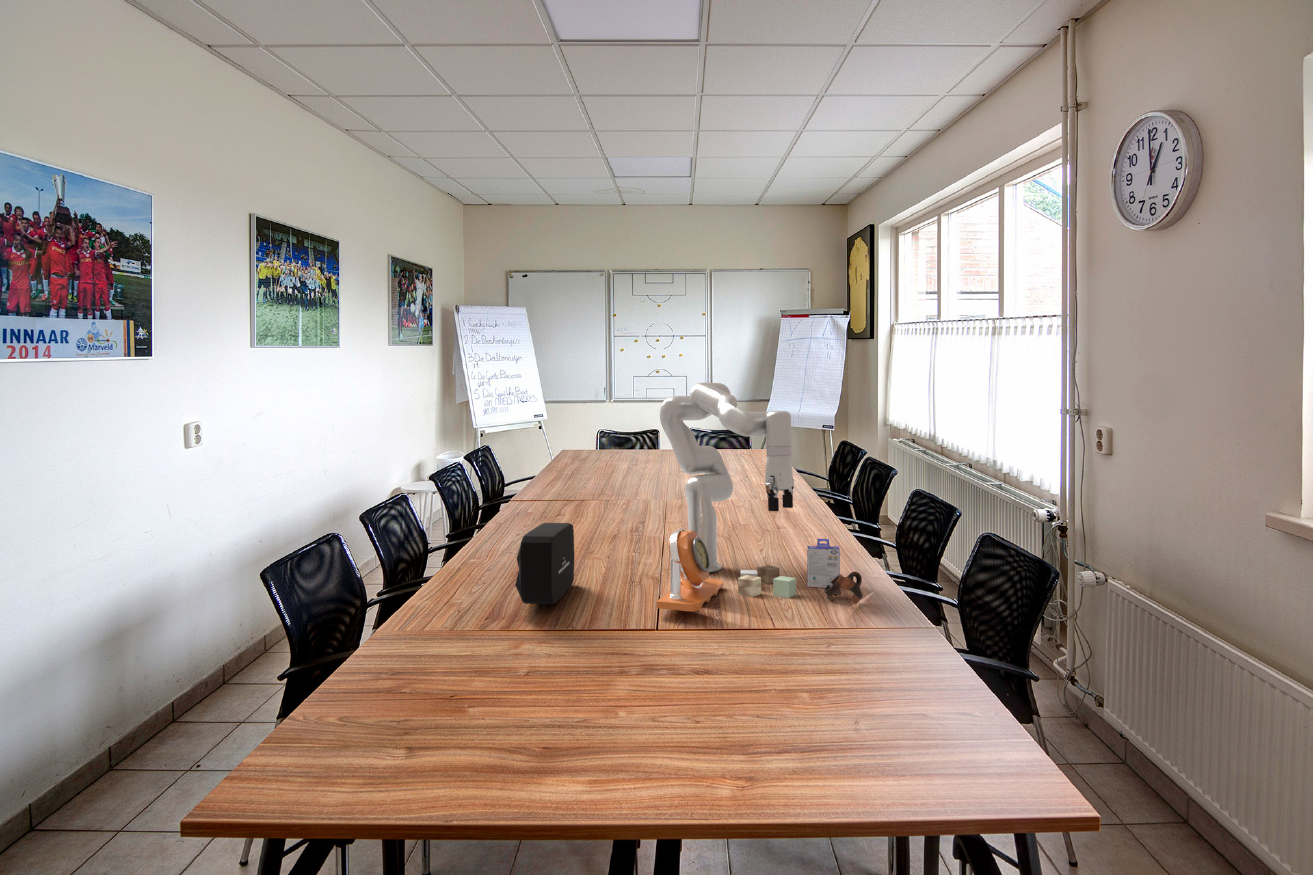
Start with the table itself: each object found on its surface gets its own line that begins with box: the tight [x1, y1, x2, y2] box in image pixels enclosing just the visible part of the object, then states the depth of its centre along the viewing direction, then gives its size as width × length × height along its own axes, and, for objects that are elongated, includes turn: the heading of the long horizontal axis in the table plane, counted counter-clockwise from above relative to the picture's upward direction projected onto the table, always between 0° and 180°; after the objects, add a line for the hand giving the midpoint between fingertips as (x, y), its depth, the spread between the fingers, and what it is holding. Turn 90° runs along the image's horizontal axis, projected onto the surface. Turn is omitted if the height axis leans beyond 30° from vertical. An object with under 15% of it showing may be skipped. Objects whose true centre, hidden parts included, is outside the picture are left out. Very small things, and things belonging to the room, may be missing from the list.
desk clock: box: [656, 528, 724, 612], centre depth 206 cm, size 12×30×20 cm, turn 159°
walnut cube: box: [756, 564, 781, 585], centre depth 224 cm, size 5×5×5 cm
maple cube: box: [737, 575, 762, 598], centre depth 210 cm, size 5×5×5 cm
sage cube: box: [772, 575, 797, 599], centre depth 209 cm, size 5×5×5 cm
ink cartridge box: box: [806, 538, 841, 588], centre depth 220 cm, size 10×6×14 cm, turn 79°
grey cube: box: [740, 569, 758, 577], centre depth 218 cm, size 5×5×5 cm
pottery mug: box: [823, 571, 864, 606], centre depth 203 cm, size 12×9×8 cm
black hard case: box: [515, 522, 575, 605], centre depth 210 cm, size 30×12×20 cm, turn 174°
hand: (780, 509), depth 212 cm, fingers open, 9 cm apart
